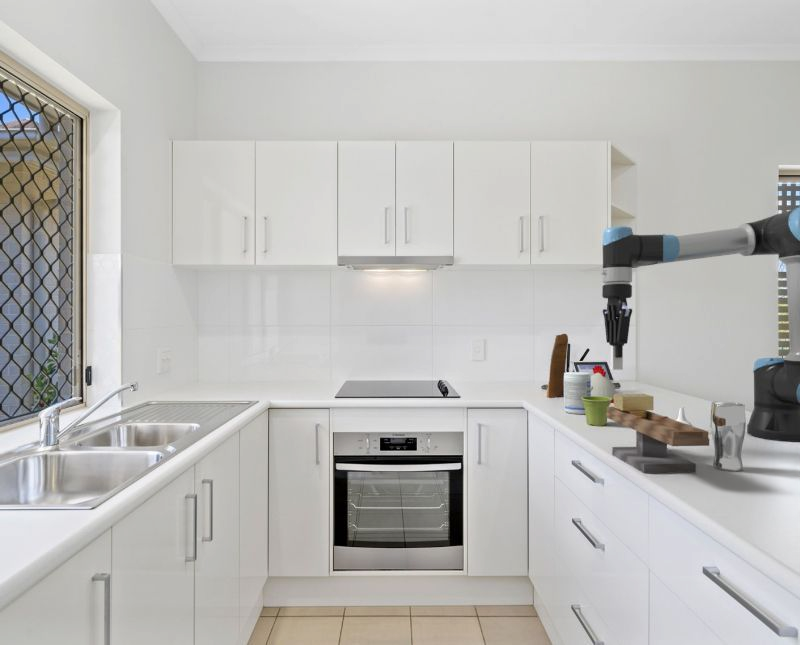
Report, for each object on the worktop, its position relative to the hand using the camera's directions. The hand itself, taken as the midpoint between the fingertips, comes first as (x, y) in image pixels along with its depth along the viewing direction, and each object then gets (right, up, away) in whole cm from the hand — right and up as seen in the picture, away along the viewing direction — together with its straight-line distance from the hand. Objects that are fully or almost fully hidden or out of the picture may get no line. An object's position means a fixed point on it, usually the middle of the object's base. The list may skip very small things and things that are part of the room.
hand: (616, 369), depth 144 cm
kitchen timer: (+25, -21, +78) cm, 85 cm away
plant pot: (+5, -21, +28) cm, 36 cm away
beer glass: (+17, -21, -22) cm, 35 cm away
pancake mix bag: (+12, -21, +92) cm, 95 cm away
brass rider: (+1, -11, -9) cm, 14 cm away
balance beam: (+1, -21, -18) cm, 28 cm away
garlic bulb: (+27, -21, +16) cm, 38 cm away
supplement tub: (+6, -21, +50) cm, 55 cm away
